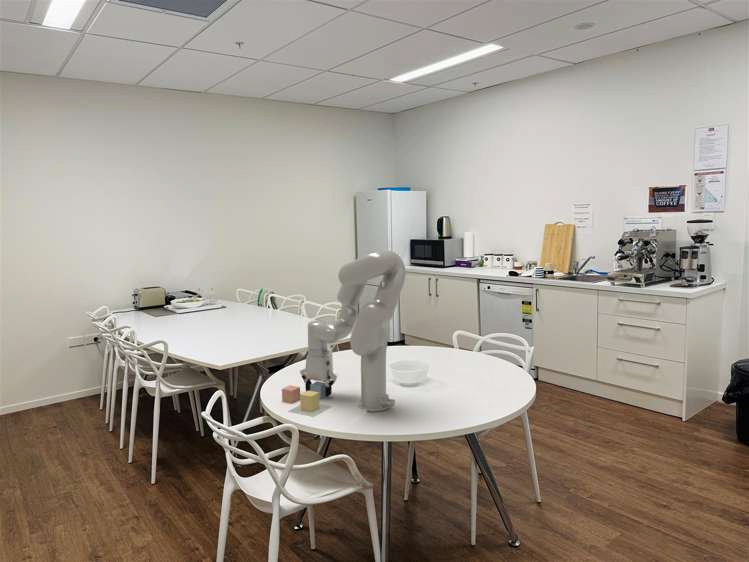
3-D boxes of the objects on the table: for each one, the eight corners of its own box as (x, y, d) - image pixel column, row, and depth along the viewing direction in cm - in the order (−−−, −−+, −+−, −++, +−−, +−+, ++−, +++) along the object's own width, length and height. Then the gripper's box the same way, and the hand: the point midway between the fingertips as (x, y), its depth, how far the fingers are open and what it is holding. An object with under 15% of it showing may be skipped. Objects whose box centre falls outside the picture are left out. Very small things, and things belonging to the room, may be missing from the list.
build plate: (332, 408, 207) (332, 406, 207) (313, 419, 196) (313, 416, 196) (306, 403, 213) (306, 401, 213) (287, 413, 202) (287, 411, 202)
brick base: (319, 407, 205) (319, 392, 205) (311, 412, 201) (311, 396, 200) (308, 405, 208) (308, 390, 207) (300, 409, 204) (300, 394, 203)
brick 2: (328, 397, 219) (327, 383, 218) (320, 401, 215) (320, 386, 214) (317, 395, 222) (317, 381, 221) (310, 399, 217) (310, 384, 217)
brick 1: (300, 401, 215) (299, 387, 214) (292, 405, 211) (292, 390, 210) (290, 399, 217) (289, 385, 217) (282, 403, 213) (281, 388, 212)
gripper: (341, 352, 215) (341, 394, 217) (305, 347, 223) (306, 387, 226) (330, 357, 208) (331, 400, 211) (294, 351, 217) (295, 392, 219)
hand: (318, 393), depth 218 cm, fingers open, 9 cm apart
